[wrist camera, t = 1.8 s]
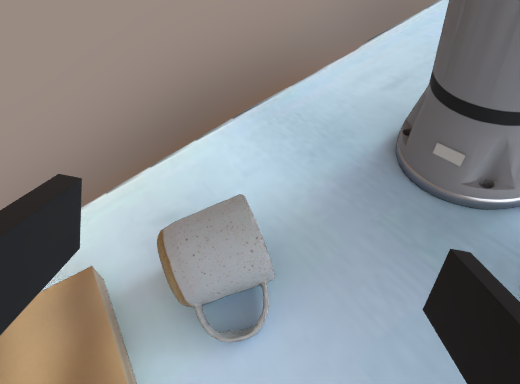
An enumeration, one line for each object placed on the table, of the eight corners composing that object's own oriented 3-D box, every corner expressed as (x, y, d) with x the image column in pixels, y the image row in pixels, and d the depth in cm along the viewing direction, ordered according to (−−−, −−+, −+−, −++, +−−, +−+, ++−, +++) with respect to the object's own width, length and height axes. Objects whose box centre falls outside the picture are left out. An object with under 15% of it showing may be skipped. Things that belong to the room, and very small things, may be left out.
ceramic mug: (172, 258, 36) (145, 208, 30) (251, 228, 37) (239, 175, 31) (199, 365, 29) (170, 328, 23) (295, 324, 30) (290, 279, 25)
